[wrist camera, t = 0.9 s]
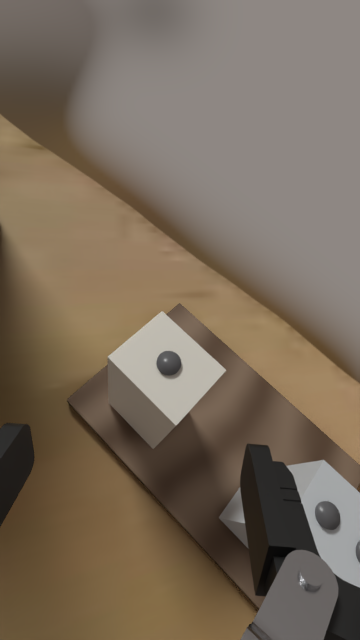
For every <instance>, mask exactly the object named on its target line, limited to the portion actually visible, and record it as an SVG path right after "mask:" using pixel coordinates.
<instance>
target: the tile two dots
mask: <svg viewBox="0 0 360 640" xmlns="http://www.w3.org/2000/svg"><path fill="white" fill-rule="evenodd" d="M287 468H288V469H289V470H290V472H291V473H292V474H293V477H294V480H295V483H296V486H297V491H298V492H299V495H300V498H301V503H302V504H303V507H304V511H305V514H306V517H307V520H308V523H309V526H310V529H311V532H312V535H313V538H314V541H315V544H316V548H317V550H318V553H319V555H320V557H321V559H323V560H324V561H325V562H326V563H327V564H328V566H329V567H330V568H331V570H332V571H333V573H334V574H336V575H337V576H338V577H340V578H341V579H343V580H344V581H346V582H348V583H350V584H353V585H355V586H357V587H359V588H360V493H359V492H358V491H357V490H356V489H355V488H354V487H353V486H352V485H351V484H350V483H349V482H348V481H346V480H345V479H344V478H343V477H342V476H341V475H340V474H339V473H338V472H337V471H336V470H334V469H333V468H332V467H331V466H330V465H329V464H328V463H327V462H326V461H325V460H320V461H313V462H307V463H301V464H294V465H288V466H287ZM219 519H220V520H221V521H222V522H223V523H224V524H225V525H226V526H227V527H228V528H229V529H230V530H231V531H232V532H233V533H234V534H235V535H236V536H237V537H238V538H239V540H240V541H241V542H242V543H243V544H244V545H245V546H246V547H247V548H248V541H247V534H246V527H245V520H244V513H243V506H242V499H241V491H240V488H239V489H238V491H237V492H236V494H235V495H234V496H233V498H232V499H231V501H230V502H229V503H228V505H227V506H226V508H225V509H224V511H223V512H222V513H221V515H220V516H219ZM248 549H249V548H248Z"/></svg>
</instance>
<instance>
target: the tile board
mask: <svg viewBox="0 0 360 640" xmlns="http://www.w3.org/2000/svg"><path fill="white" fill-rule="evenodd" d="M166 315H167V316H168V317H169V318H170V319H171V320H172V321H174V322H175V323H176V324H177V325H178V326H179V327H180V328H181V329H182V330H183V331H184V332H186V333H187V334H188V335H189V336H190V337H191V338H192V339H193V340H194V341H195V342H196V343H197V344H199V345H200V346H201V347H202V348H203V349H204V350H205V351H206V352H207V353H208V354H209V355H211V356H212V357H213V358H214V359H215V360H216V361H217V362H218V363H219V364H220V365H221V366H222V367H224V368H225V369H226V371H225V372H224V373H223V375H222V376H221V377H220V378H219V379H218V380H217V381H216V382H215V383H214V385H213V386H212V387H211V388H210V389H209V390H208V391H207V392H206V393H205V394H204V396H203V397H202V398H201V399H200V400H199V401H198V402H197V403H196V404H195V405H194V407H193V408H192V409H191V410H190V411H189V412H188V413H187V414H186V415H185V417H184V418H183V419H182V420H181V421H180V422H179V423H178V424H177V425H176V426H175V427H174V428H173V429H172V431H171V432H170V433H169V434H168V435H167V436H166V437H165V438H164V439H163V440H162V441H161V442H160V443H159V444H158V445H157V446H156V447H155V448H154V449H152V448H151V447H150V445H149V444H148V443H147V442H146V441H145V440H144V439H143V438H142V437H141V436H140V435H139V434H138V433H137V432H136V431H135V430H134V429H133V428H132V427H131V426H130V425H129V424H128V422H127V421H126V420H125V419H124V418H123V417H122V416H121V415H120V414H119V413H118V412H117V411H116V410H115V409H114V408H113V407H112V406H111V405H110V404H109V400H108V365H106V366H105V367H104V368H103V369H102V370H101V371H99V372H98V373H97V374H96V375H95V376H94V377H92V378H91V379H90V380H89V381H88V382H87V383H85V384H84V385H83V386H82V387H81V388H80V389H78V390H77V391H76V392H75V393H74V394H73V395H71V396H70V397H69V398H68V399H67V402H68V403H69V404H70V405H71V406H72V407H73V409H74V410H75V411H76V412H77V413H78V414H79V415H80V416H81V417H82V418H83V419H84V420H85V422H86V423H87V424H88V425H89V426H90V427H91V428H92V429H93V430H94V431H95V432H96V433H97V435H98V436H99V437H100V438H101V439H102V440H103V441H104V442H105V443H106V444H107V445H108V447H109V448H110V449H111V450H112V451H113V452H114V453H115V454H116V455H117V456H118V457H119V458H120V460H121V461H122V462H123V463H124V464H125V465H126V466H127V467H128V468H129V469H130V470H131V471H132V473H133V474H134V475H135V476H136V477H137V478H138V479H139V480H140V481H141V482H142V483H143V484H144V486H145V487H146V488H147V489H148V490H149V491H150V492H151V493H152V494H153V495H154V496H155V497H156V499H157V500H158V501H159V502H160V503H161V504H162V505H163V506H164V507H165V508H166V509H167V510H168V512H169V513H170V514H171V515H172V516H173V517H174V518H175V519H176V520H177V521H178V522H179V523H180V525H181V526H182V527H183V528H184V529H185V530H186V531H187V532H188V533H189V534H190V535H191V536H192V538H193V539H194V540H195V541H196V542H197V543H198V544H199V545H200V546H201V547H202V548H203V549H204V551H205V552H206V553H207V554H208V555H209V556H210V557H211V558H212V559H213V560H214V561H215V562H216V564H217V565H218V566H219V567H220V568H221V569H222V570H223V571H224V572H225V573H226V574H227V575H228V577H229V578H230V579H231V580H232V581H233V582H234V583H235V584H236V585H237V586H238V587H239V588H240V590H241V591H242V592H243V593H244V594H245V595H246V596H247V597H248V598H249V599H250V600H251V601H252V603H253V604H254V605H255V606H256V607H257V608H258V609H260V607H261V605H262V603H263V601H264V599H265V597H266V596H255V591H254V584H253V577H252V570H251V562H250V555H249V549H248V548H247V547H246V546H245V545H244V544H243V543H242V542H241V541H240V540H239V538H238V537H237V536H236V535H235V534H234V533H233V532H232V531H231V530H230V529H229V528H228V527H227V526H226V525H225V524H224V523H223V522H222V521H221V520H220V519H219V516H220V515H221V513H222V512H223V511H224V509H225V508H226V506H227V505H228V503H229V502H230V501H231V499H232V498H233V496H234V495H235V494H236V492H237V491H238V489H239V488H240V475H241V469H242V464H243V459H244V454H245V448H246V445H247V444H260V445H268V446H269V449H270V452H271V456H272V460H273V461H278V462H283V463H284V464H285V465H286V466H288V465H294V464H301V463H307V462H313V461H320V460H325V461H326V462H327V463H328V464H329V465H330V466H331V467H332V468H333V469H334V470H336V471H337V472H338V473H339V474H340V475H341V476H342V477H343V478H344V479H345V480H346V481H348V482H349V483H350V484H351V485H352V486H353V487H354V488H355V489H356V490H357V488H358V486H359V484H360V465H359V464H358V463H357V462H356V461H355V460H353V459H352V458H351V457H350V456H349V455H348V454H347V453H346V452H345V451H343V450H342V449H341V448H340V447H339V446H338V445H337V444H336V443H335V442H333V441H332V440H331V439H330V438H329V437H328V436H327V435H326V434H325V433H323V432H322V431H321V430H320V429H319V428H318V427H317V426H316V425H315V424H313V423H312V422H311V421H310V420H309V419H308V418H307V417H306V416H305V415H303V414H302V413H301V412H300V411H299V410H298V409H297V408H296V407H295V406H293V405H292V404H291V403H290V402H289V401H288V400H287V399H286V398H285V397H283V396H282V395H281V394H280V393H279V392H278V391H277V390H276V389H275V388H273V387H272V386H271V385H270V384H269V383H268V382H267V381H266V380H265V379H263V378H262V377H261V376H260V375H259V374H258V373H257V372H256V371H255V370H253V369H252V368H251V367H250V366H249V365H248V364H247V363H246V362H245V361H243V360H242V359H241V358H240V357H239V356H238V355H237V354H236V353H235V352H233V351H232V350H231V349H230V348H229V347H228V346H227V345H226V344H225V343H223V342H222V341H221V340H220V339H219V338H218V337H217V336H216V335H215V334H213V333H212V332H211V331H210V330H209V329H208V328H207V327H206V326H205V325H203V324H202V323H201V322H200V321H199V320H198V319H197V318H196V317H194V316H193V315H192V314H191V313H190V312H189V311H188V310H187V309H186V308H184V307H183V306H182V305H181V304H180V303H179V304H178V305H177V306H176V307H174V308H173V309H172V310H171V311H170V312H169V313H167V314H166Z"/></svg>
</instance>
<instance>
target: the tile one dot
mask: <svg viewBox="0 0 360 640" xmlns="http://www.w3.org/2000/svg"><path fill="white" fill-rule="evenodd" d="M225 371H226V369H225V368H224V367H222V366H221V365H220V364H219V363H218V362H217V361H216V360H215V359H214V358H213V357H212V356H211V355H209V354H208V353H207V352H206V351H205V350H204V349H203V348H202V347H201V346H200V345H199V344H197V343H196V342H195V341H194V340H193V339H192V338H191V337H190V336H189V335H188V334H187V333H186V332H184V331H183V330H182V329H181V328H180V327H179V326H178V325H177V324H176V323H175V322H174V321H172V320H171V319H170V318H169V317H168V316H167V315H166V314H165V313H164V312H163V311H162V312H160V313H159V314H158V315H157V316H156V317H154V318H153V319H152V320H151V321H150V322H149V323H147V324H146V325H145V326H144V327H143V328H141V329H140V330H139V331H138V332H137V333H135V334H134V335H133V336H132V337H131V338H129V339H128V340H127V341H126V342H125V343H124V344H122V345H121V346H120V347H119V348H118V349H116V350H115V351H114V352H113V353H112V354H110V355H109V356H108V400H109V404H110V405H111V406H112V407H113V408H114V409H115V410H116V411H117V412H118V413H119V414H120V415H121V416H122V417H123V418H124V419H125V420H126V421H127V422H128V424H129V425H130V426H131V427H132V428H133V429H134V430H135V431H136V432H137V433H138V434H139V435H140V436H141V437H142V438H143V439H144V440H145V441H146V442H147V443H148V444H149V445H150V447H151V448H152V449H154V448H155V447H156V446H157V445H158V444H159V443H160V442H161V441H162V440H163V439H164V438H165V437H166V436H167V435H168V434H169V433H170V432H171V431H172V429H173V428H174V427H175V426H176V425H177V424H178V423H179V422H180V421H181V420H182V419H183V418H184V417H185V415H186V414H187V413H188V412H189V411H190V410H191V409H192V408H193V407H194V405H195V404H196V403H197V402H198V401H199V400H200V399H201V398H202V397H203V396H204V394H205V393H206V392H207V391H208V390H209V389H210V388H211V387H212V386H213V385H214V383H215V382H216V381H217V380H218V379H219V378H220V377H221V376H222V375H223V373H224V372H225Z"/></svg>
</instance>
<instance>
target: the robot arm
mask: <svg viewBox="0 0 360 640" xmlns="http://www.w3.org/2000/svg"><path fill="white" fill-rule="evenodd" d="M33 463H34V450H33V443H32V437H31V431H30V427H29V425H28V424H16V423H6V424H4V425H3V426H2V428H1V429H0V526H1V524H2V523H3V521H4V519H5V517H6V515H7V514H8V512H9V510H10V508H11V507H12V505H13V503H14V501H15V499H16V498H17V496H18V494H19V492H20V490H21V489H22V487H23V485H24V483H25V481H26V480H27V478H28V476H29V474H30V472H31V470H32V467H33ZM240 491H241V499H242V506H243V513H244V520H245V527H246V534H247V541H248V548H249V555H250V562H251V570H252V577H253V584H254V591H255V596H266V597H265V599H264V601H263V603H262V605H261V607H260V609H259V611H258V613H257V615H256V617H255V619H254V620H253V622H252V624H250V625H249V626H248V627H247V629H246V631H245V632H244V634H243V636H242V638H241V640H360V588H359V587H357V586H355V585H353V584H350V583H348V582H346V581H344V580H343V579H341V578H340V577H338V576H337V575H336V574H334V573H333V571H332V570H331V568H330V567H329V566H328V564H327V563H326V562H325V561H324V560H323V559H321V557H320V555H319V553H318V550H317V548H316V544H315V541H314V538H313V535H312V532H311V529H310V526H309V523H308V520H307V517H306V514H305V511H304V507H303V504H302V503H301V498H300V495H299V492H298V491H297V486H296V483H295V480H294V477H293V474H292V473H291V472H290V470H289V469H288V468H287V466H286V465H285V464H284V463H283V462H278V461H273V460H272V456H271V452H270V449H269V446H268V445H260V444H247V445H246V448H245V454H244V459H243V464H242V469H241V475H240Z"/></svg>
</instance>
